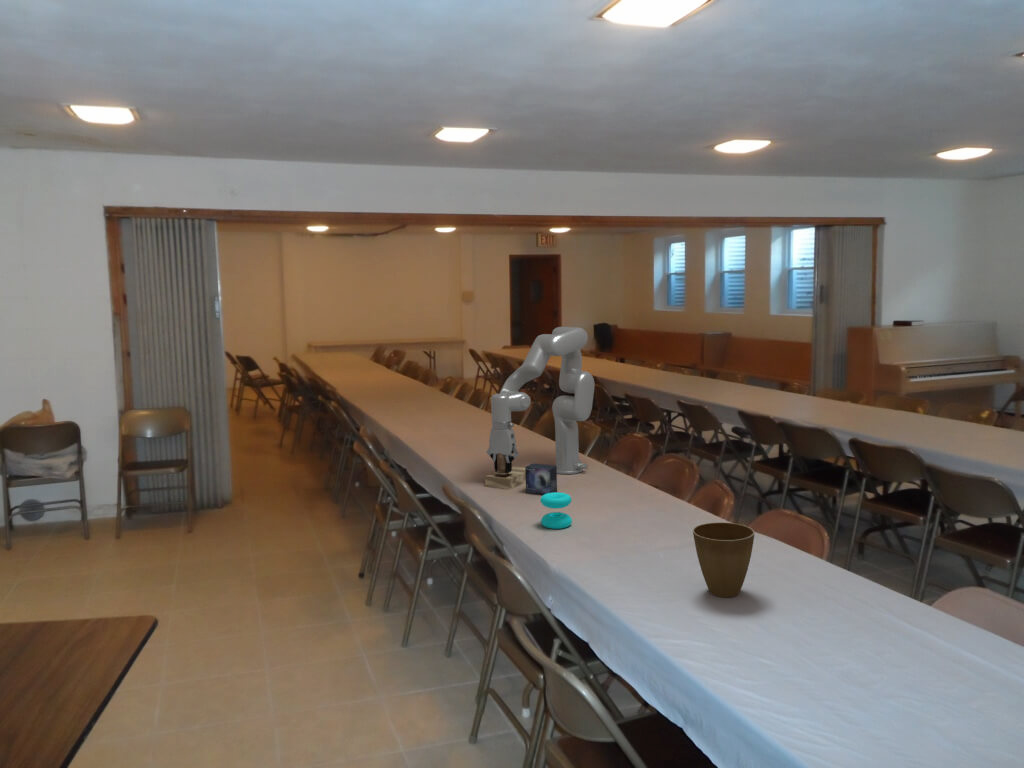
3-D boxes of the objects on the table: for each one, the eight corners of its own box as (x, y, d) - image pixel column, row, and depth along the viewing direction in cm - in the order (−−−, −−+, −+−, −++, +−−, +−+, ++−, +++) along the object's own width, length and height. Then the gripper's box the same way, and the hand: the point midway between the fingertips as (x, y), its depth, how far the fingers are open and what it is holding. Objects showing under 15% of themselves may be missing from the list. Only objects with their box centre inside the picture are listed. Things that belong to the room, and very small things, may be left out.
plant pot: (742, 579, 210) (743, 520, 208) (762, 602, 196) (763, 538, 193) (686, 582, 210) (686, 522, 208) (701, 604, 195) (701, 541, 193)
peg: (511, 481, 316) (510, 451, 314) (505, 484, 312) (504, 454, 310) (501, 480, 318) (500, 450, 317) (495, 483, 314) (494, 453, 313)
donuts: (565, 490, 267) (575, 497, 257) (565, 519, 268) (576, 527, 259) (536, 493, 264) (545, 500, 255) (537, 522, 265) (546, 531, 256)
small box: (525, 493, 302) (524, 466, 301) (532, 489, 308) (531, 462, 306) (550, 496, 297) (549, 468, 296) (557, 492, 303) (557, 465, 301)
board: (511, 475, 331) (511, 465, 331) (535, 477, 325) (534, 468, 325) (485, 486, 314) (485, 476, 314) (509, 489, 308) (509, 479, 308)
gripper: (525, 425, 311) (526, 471, 313) (488, 422, 320) (490, 467, 322) (515, 428, 305) (516, 475, 307) (478, 425, 313) (479, 471, 316)
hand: (503, 471), depth 314 cm, fingers closed on peg, 4 cm apart
